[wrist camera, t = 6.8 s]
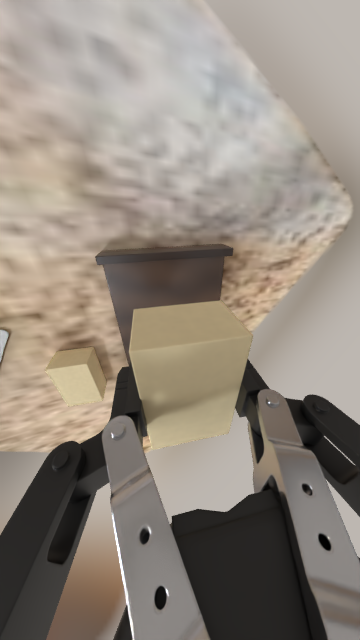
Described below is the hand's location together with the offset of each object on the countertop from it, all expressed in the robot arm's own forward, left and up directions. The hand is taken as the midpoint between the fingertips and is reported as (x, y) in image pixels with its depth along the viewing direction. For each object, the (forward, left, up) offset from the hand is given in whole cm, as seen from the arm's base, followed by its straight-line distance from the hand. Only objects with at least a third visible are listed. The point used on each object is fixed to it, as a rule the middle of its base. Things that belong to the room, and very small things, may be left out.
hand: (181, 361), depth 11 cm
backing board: (+4, +1, -13) cm, 14 cm away
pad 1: (+12, -13, -13) cm, 22 cm away
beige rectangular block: (0, 0, 0) cm, 0 cm away
